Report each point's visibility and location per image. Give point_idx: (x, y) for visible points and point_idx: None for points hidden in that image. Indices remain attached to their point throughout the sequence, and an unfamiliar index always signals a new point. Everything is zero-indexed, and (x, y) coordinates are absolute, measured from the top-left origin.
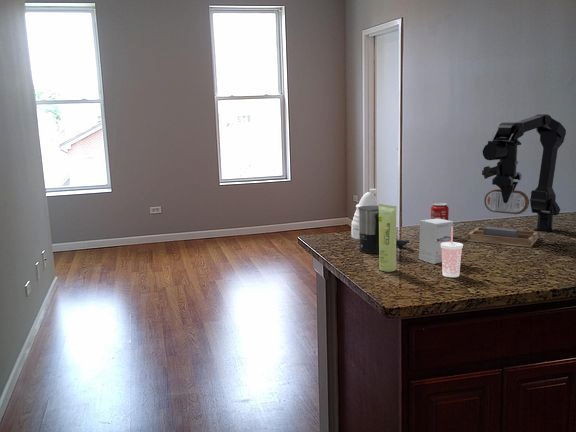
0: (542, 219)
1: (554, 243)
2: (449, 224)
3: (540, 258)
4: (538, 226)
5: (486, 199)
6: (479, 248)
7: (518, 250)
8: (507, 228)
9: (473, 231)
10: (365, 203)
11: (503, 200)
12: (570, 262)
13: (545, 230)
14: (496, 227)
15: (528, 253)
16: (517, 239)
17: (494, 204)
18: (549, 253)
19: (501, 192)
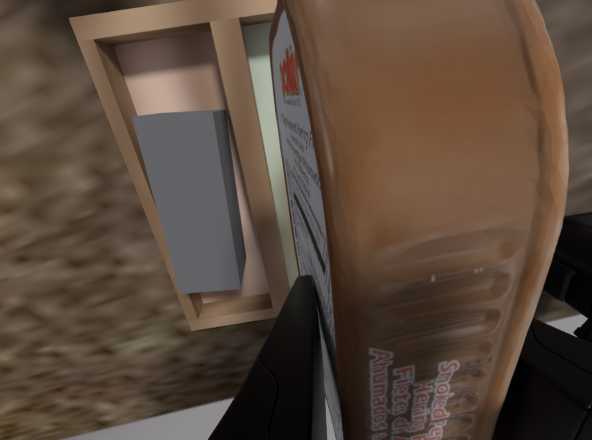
0: (562, 282)
1: None
2: None
3: (67, 375)
4: None
5: (285, 20)
6: (2, 164)
7: (114, 297)
8: (228, 237)
9: (177, 18)
10: None
11: (289, 293)
12: (95, 429)
13: None
14: (215, 177)
15: (100, 333)
16: (176, 285)
17: (292, 160)
18: (154, 372)
19: (242, 387)
